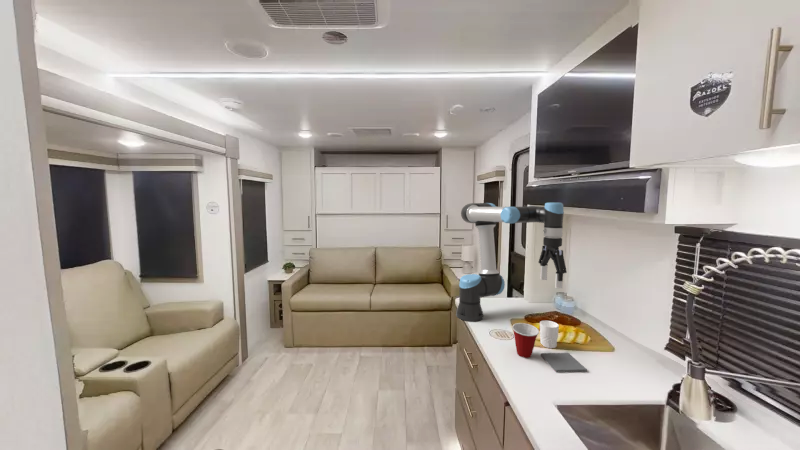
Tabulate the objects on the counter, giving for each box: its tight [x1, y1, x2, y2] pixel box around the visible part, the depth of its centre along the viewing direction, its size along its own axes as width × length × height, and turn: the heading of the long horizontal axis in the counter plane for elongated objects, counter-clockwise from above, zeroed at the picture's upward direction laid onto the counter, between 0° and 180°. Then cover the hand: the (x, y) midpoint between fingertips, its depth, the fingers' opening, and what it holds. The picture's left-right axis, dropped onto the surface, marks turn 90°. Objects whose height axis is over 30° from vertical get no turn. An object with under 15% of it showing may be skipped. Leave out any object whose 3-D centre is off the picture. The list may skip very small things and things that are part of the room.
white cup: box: [539, 320, 560, 349], centre depth 143 cm, size 8×8×10 cm
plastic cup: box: [511, 322, 540, 359], centre depth 134 cm, size 11×11×12 cm
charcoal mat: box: [540, 352, 588, 373], centre depth 128 cm, size 13×12×1 cm
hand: (550, 283), depth 141 cm, fingers open, 13 cm apart
